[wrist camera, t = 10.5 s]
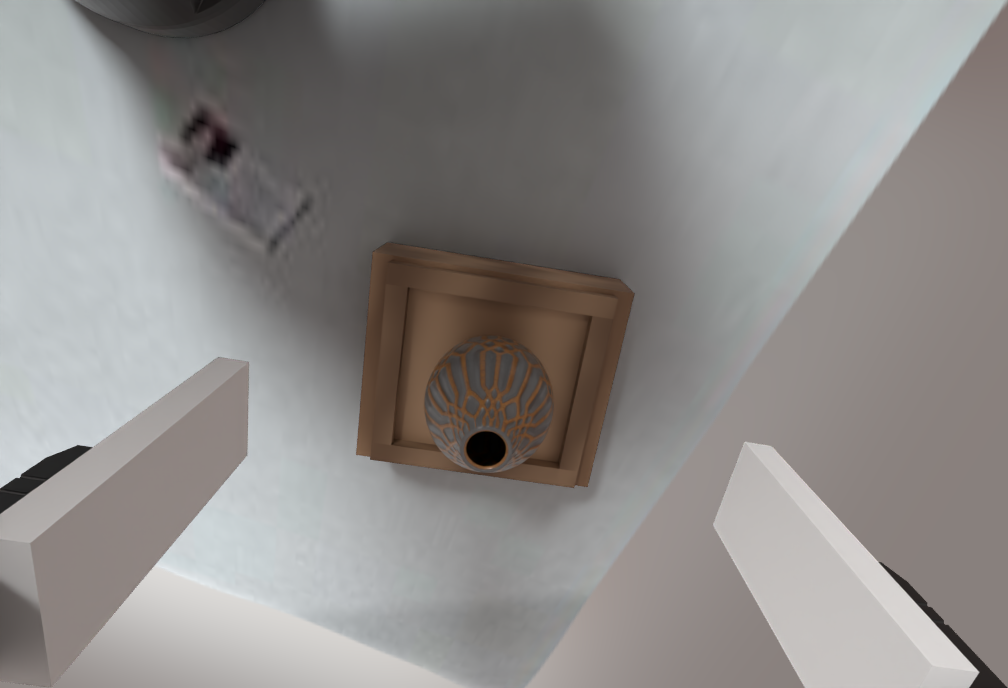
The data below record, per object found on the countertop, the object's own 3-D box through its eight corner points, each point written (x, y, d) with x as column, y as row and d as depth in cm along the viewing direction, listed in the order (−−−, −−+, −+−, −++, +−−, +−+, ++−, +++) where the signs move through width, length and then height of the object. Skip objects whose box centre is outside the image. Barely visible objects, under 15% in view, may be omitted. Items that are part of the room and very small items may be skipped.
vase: (571, 368, 32) (595, 439, 24) (500, 448, 34) (498, 540, 25) (480, 298, 31) (471, 347, 22) (410, 385, 32) (378, 461, 24)
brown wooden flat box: (371, 425, 38) (352, 461, 33) (387, 242, 34) (369, 254, 29) (579, 455, 38) (589, 494, 34) (620, 279, 34) (637, 296, 30)
